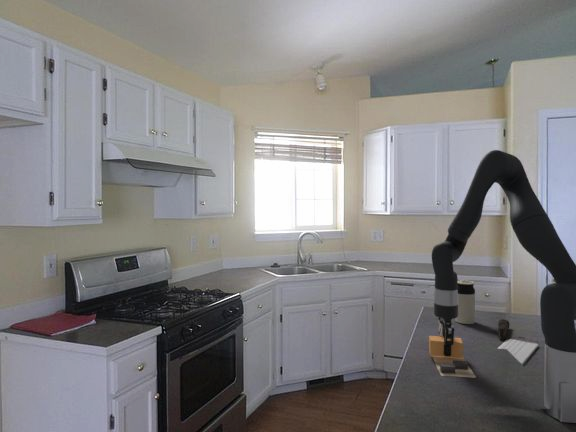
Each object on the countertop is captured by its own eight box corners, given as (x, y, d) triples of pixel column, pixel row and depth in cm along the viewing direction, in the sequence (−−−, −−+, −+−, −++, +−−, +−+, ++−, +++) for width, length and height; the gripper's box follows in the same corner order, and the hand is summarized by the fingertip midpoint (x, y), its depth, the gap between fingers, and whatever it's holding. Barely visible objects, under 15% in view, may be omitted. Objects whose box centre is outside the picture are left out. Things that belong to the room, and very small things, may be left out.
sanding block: (462, 358, 134) (462, 343, 134) (430, 355, 137) (430, 340, 137) (460, 352, 139) (460, 338, 139) (429, 350, 142) (429, 335, 142)
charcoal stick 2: (467, 369, 129) (467, 363, 129) (454, 369, 129) (454, 362, 129) (466, 367, 131) (466, 361, 131) (452, 366, 131) (452, 360, 131)
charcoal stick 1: (455, 373, 126) (455, 367, 126) (441, 372, 127) (441, 366, 127) (453, 370, 128) (453, 364, 128) (440, 370, 129) (440, 363, 129)
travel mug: (476, 321, 185) (476, 281, 185) (473, 325, 179) (473, 284, 178) (457, 318, 190) (457, 279, 189) (453, 323, 183) (453, 282, 182)
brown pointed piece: (498, 327, 177) (498, 316, 176) (509, 329, 174) (509, 318, 174) (492, 340, 161) (492, 328, 161) (504, 342, 159) (504, 330, 158)
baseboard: (476, 364, 138) (516, 374, 130) (476, 356, 138) (516, 365, 130) (502, 340, 161) (538, 348, 153) (502, 333, 161) (538, 340, 153)
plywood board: (476, 382, 123) (476, 377, 123) (440, 380, 125) (440, 375, 125) (462, 360, 140) (462, 356, 140) (431, 359, 142) (431, 354, 142)
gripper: (463, 308, 130) (462, 361, 130) (453, 297, 144) (452, 345, 145) (438, 307, 131) (437, 360, 132) (430, 296, 145) (430, 344, 146)
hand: (445, 352), depth 138 cm, fingers closed on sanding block, 5 cm apart
